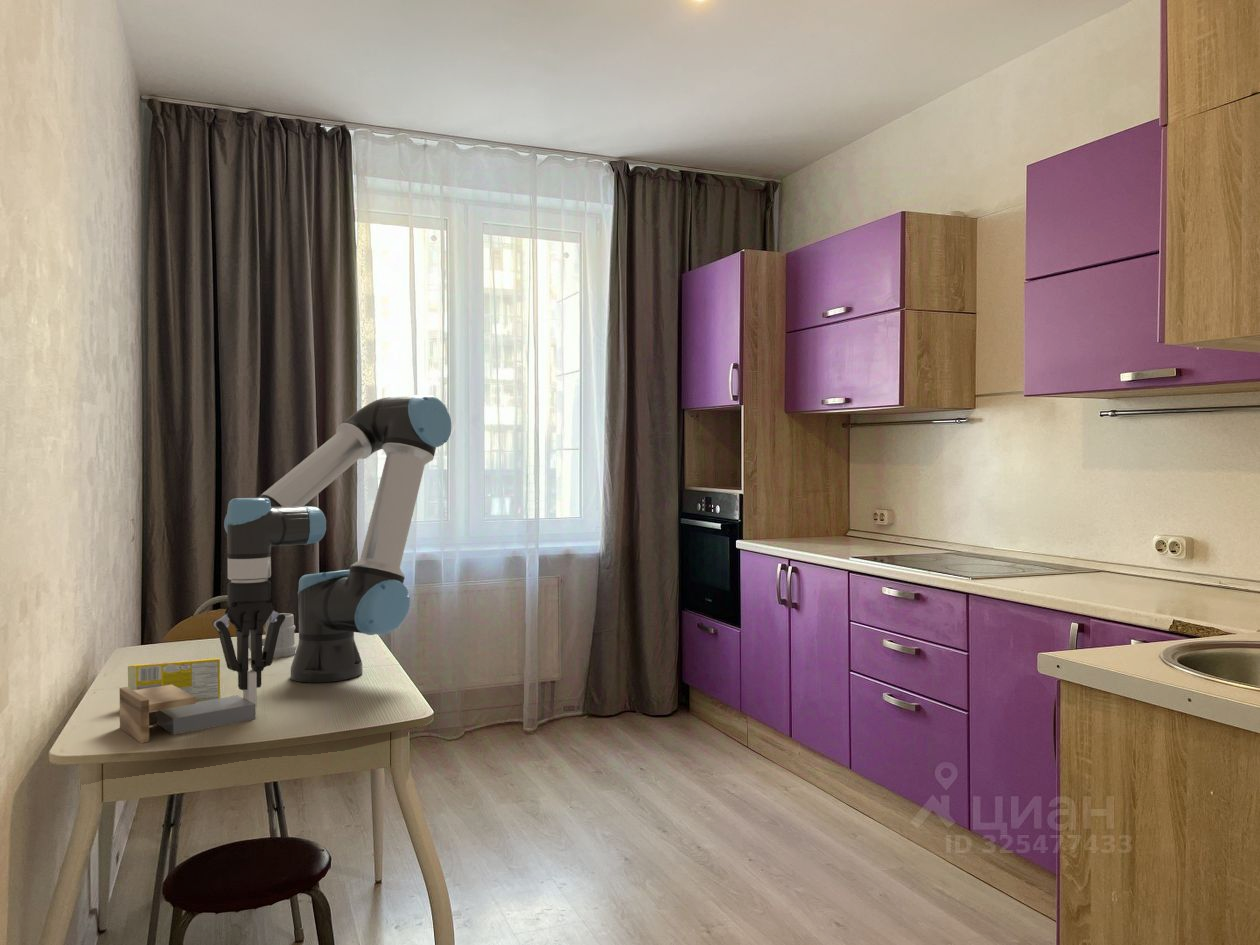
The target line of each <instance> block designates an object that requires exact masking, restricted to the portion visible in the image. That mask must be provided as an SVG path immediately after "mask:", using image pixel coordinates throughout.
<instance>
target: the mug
mask: <svg viewBox="0 0 1260 945" xmlns="http://www.w3.org/2000/svg"><path fill="white" fill-rule="evenodd" d="M279 614H283V615H285V620H284V621H283V623H282V625H281V626H280V630H279V634H278V638H277V643H276V647H275V651H274V656H273V659H274V658H275V659H276V658H277V659H279V658H281V659H282V658H287V657H291V656H295V653H296V650H297V647H298V644H296V642H295V639H296V637H295V630H296V625H295V622H294V618H295V617H294V614H293V613H289V612H288V613H285V612H283V613H279ZM269 619H270V617H269V618H268V620H267V621H266V623H265V627H263V632H265V638H262V647H264V644H265V640H266V635H267V631H268V627H269V624H270V621H269ZM248 650H249V651H250V652H251V633H250V630H249V636H248Z"/></svg>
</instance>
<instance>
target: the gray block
mask: <svg viewBox="0 0 1260 945" xmlns="http://www.w3.org/2000/svg"><path fill="white" fill-rule="evenodd" d="M256 714H257V708H256V704H255V703H252V702H250V701H248V700H246V699H244V698H243V696H242V697H241V696H240V695H231V696H225V697H220V698H219V699H213V700H207V701H201V702H196V704H191V705H186V706H180V707H174V708H168V709H162V710H157V722H156V723H157V725H158V726H159V727H161V728H163V729H164V730H166V731H168V732H169V733H171V734H172V735H178V734H183V733H189V732H194V731H198V730H199V731H200V730H204V729H209V728H214V727H219V726H220V727H221V726H225V725H230V724H235V723H241V722H247V721H250V720H256Z"/></svg>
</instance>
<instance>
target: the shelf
mask: <svg viewBox="0 0 1260 945" xmlns="http://www.w3.org/2000/svg"><path fill="white" fill-rule="evenodd" d="M191 704H196V697H195V696H193V695H191V694H189V693H187V692H185V691H183V690H181V689H180V688H178V687H176V686H174V685H165V686H159V687H152V688H146V689H139V690H132V689H130V688H128V686H123V687H119V728H120V729H121V730H122V731H124V732H125V731H126V732H125V733H127V734H128V735H129V736H131V737H132V738H134V739H135V740H136V741H138V742H139V743H141V744H144V743H149V742H150V724H155V723H157V710H162V709H168V708H174V707H180V706H186V705H191Z"/></svg>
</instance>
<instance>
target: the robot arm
mask: <svg viewBox="0 0 1260 945" xmlns="http://www.w3.org/2000/svg"><path fill="white" fill-rule="evenodd" d="M451 432H452V419H451V415H450V413H449V412H448V408H447V407H446V404H444V402H442V400H440V399H439V397H436V396H434V395H430V394H429V395H426V394H425V395H424V394H423V395H422V394H415V395H414V394H413V395H408V396H407V395H406V396H396V397H395V396H393V397H391V396H389V397H382V398H378V399H375V400H374V401H371V402H370V403H368V404H366V405H365V406H363V407H362V408H360V409H359V410H357V411H356V412H355V413H353V414H352V415H350V416H349V417H348V418H347V419H345V420H344V421H343V422H342V423H340V424H339V425H338V426H337V427H336V433H335V434H334V435H333V436H331V438H330V437H329V439H328V440H326V441H325V442H324V443H323V444H322V445H321V446H319V447H318V448H317V449H315V450H314V451H312V453H310V455H308V456H307V457H306V458H304V459H303V460H302V461H301V462H300V463H299V464H297V465H296V466H295V467H293V468H292V469H291V470H290V471H289V472H287V473H286V474H284V475H283V476H282V477H281V478H280V479H279V480H277V481H276V482H274V484H272V485H271V486H270V487H269V488H267V490H265V491H263V493H262V494H260V495H259V496H258V497H244V498H243V497H238V498H236V497H235V498H232V499H230V501H229V502H228V504H227V511H226V512H227V514H225V517H224V520H223V521H224V522H223V524H224V525H223V527H224V530H225V533H226V535H227V536H226V537H227V539H226V540H227V541H226V542H227V543H226V544H227V579H228V580H229V582H228V583H227V607H226V609H225V611H224V615H223V616H221V617H220V618H219V619H214V620H213V621H212V622H211V623H212V626H213V627H214V629H215V630H216V631H217V633H218V637H219V641H220V644H221V649H222V652H223V656H224V659H225V660H224V661H225V663H226V667H227V669H229V670H231V671H233V672H237V686H238V689H239V690H240V691H242V698H244V699H246V700H248V701H250V702H252V703H255V704H256V707H257V706H258V705H257V704H258V701H257V700H258V699H257V698H258V697H257V694H258V693H257V692H258V691H257V690H258V688H261V686H262V672H263V671H264V669H265V668H266V667H269V666H271V665H272V663H273V659H274V658H273V656H274V651H275V647H276V643H277V638H278V634H279V630H280V626H281V625H282V623H283V621H284V620H285V615H283V614H280V613H279V612H278V611H275V610H274V606H273V605H272V602H271V601H272V582H271V581H270V580H269V579H270V578H271V576H272V559H271V558H272V547H274V548H275V547H282V546H283V547H284V546H298V545H303V546H307V545H309V544H315V543H318V542H320V541H322V539H323V538H324V536H325V534H326V531H327V518H326V516H325V513H324V512H323V511H322V509H320V508H319V507H317V506H307V504H308V503H309V502H310V501H312V499H313V498H315V497H316V496H317V495H319V494H320V493H321V492H322V491H323V490H324V489H325V488H327V487H328V486H329V485H330V484H332V483H333V482H334V481H335V480H336V479H337V478H338V477H339V476H340V475H342V474H343V473H344V472H346V471H347V470H348V469H349V468H350V467H351V466H353V465H354V464H355V463H356V462H357V461H358V460H365V459H367V458H369V457H370V456H371V455H373V453H376V452H378V451H380V450H383V452H384V453H385V455H386V457H385V460H384V464H383V469H382V472H381V477H380V480H379V485H378V488H377V492H376V496H375V499H374V504H373V507H372V512H371V516H370V519H369V523H368V527H367V532H366V535H365V539H364V541H363V542H364V543H363V546H362V547H363V548H362V551H361V553H360V554H361V555H360V558H359V560H358V561H356V562H354V563H352V564H351V565H350V568H349V569H343V570H335V571H327V572H325V571H324V572H316V573H310V574H304V575H302V576H301V577H300V578H299V581H298V589H297V590H298V591H297V598H298V599H297V600H298V601H297V603H298V604H297V605H298V608H297V609H298V612H297V613H298V644H297V648H296V650H295V655H293V660H292V663H291V666H290V679H291V680H292V681H295V682H299V683H330V682H339V681H345V680H350V679H353V678H356V677H358V676H361V675H362V674H363V661H362V659H361V658H362V657H361V656H360V653H359V650H358V649H359V648H358V647H357V644H356V641H355V633H359V634H364V635H368V636H374V635H381V636H382V635H387V634H389V633H392V632H394V630H396V629H398V628H399V627H400V626H401V625H402V624H403V622H404V621H405V620H406V617H407V615H408V612H409V609H410V604H411V596H410V595H409V590H408V588H407V586H405V584H404V581H405V575H404V573H403V570H402V569H401V566H402V564H401V563H402V560H403V556H404V553H405V548H406V544H407V539H408V536H409V531H410V527H411V524H412V519H413V515H414V511H415V506H416V504H417V498H418V494H419V490H420V486H421V482H422V477H423V474H424V471H425V466H426V465H427V464H428V463H430V462H432V461H433V460H434V457H435V454H436V450H437V448H439V447H441V446H444V445H445V443H448V440H449V438H450V437H451V434H452V433H451ZM269 617H270V619H269V621H270V624H269V627H268V631H267V635H266V634H265V636H266V640H265V644H264V646H262V639H263V634H264V626H265V625H266V621H267V620H268V618H269ZM229 623H231V624H232V626H233V627H234V628H235V635H236V652H235V648H234V644H233V641H232V636H231V632H230V630H229V627H230V624H229ZM249 630H250V633H251V651H250V668H251V669H249V648H248V636H249Z"/></svg>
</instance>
